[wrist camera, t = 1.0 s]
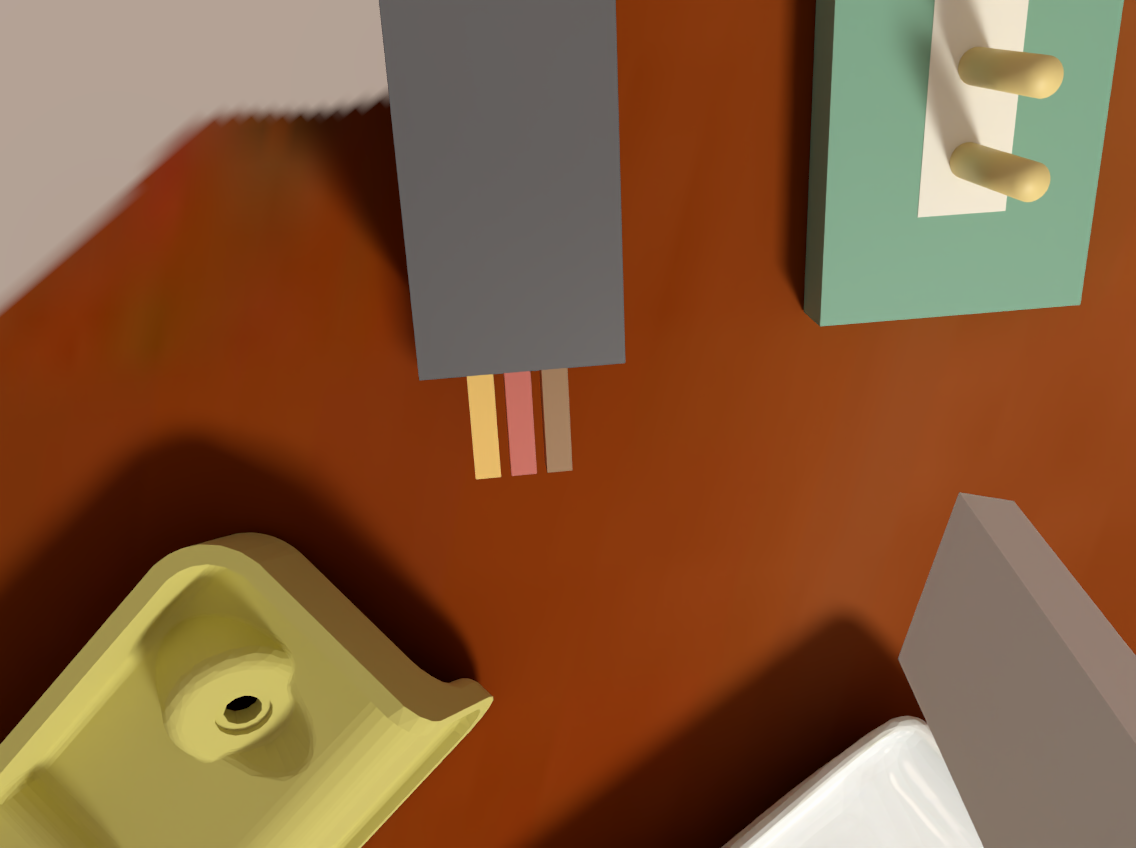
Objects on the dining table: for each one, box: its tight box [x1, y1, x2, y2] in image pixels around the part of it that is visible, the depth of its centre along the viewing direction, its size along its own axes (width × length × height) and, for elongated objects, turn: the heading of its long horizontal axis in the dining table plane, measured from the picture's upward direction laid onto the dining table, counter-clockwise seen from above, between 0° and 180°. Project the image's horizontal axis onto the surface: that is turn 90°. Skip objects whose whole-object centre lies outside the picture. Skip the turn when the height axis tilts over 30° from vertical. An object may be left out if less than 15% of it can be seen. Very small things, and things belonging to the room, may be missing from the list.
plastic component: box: [0, 532, 493, 848], centre depth 35 cm, size 20×7×10 cm
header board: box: [804, 0, 1124, 326], centre depth 28 cm, size 8×14×5 cm, turn 3°
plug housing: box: [379, 0, 625, 479], centre depth 28 cm, size 14×5×6 cm, turn 3°
